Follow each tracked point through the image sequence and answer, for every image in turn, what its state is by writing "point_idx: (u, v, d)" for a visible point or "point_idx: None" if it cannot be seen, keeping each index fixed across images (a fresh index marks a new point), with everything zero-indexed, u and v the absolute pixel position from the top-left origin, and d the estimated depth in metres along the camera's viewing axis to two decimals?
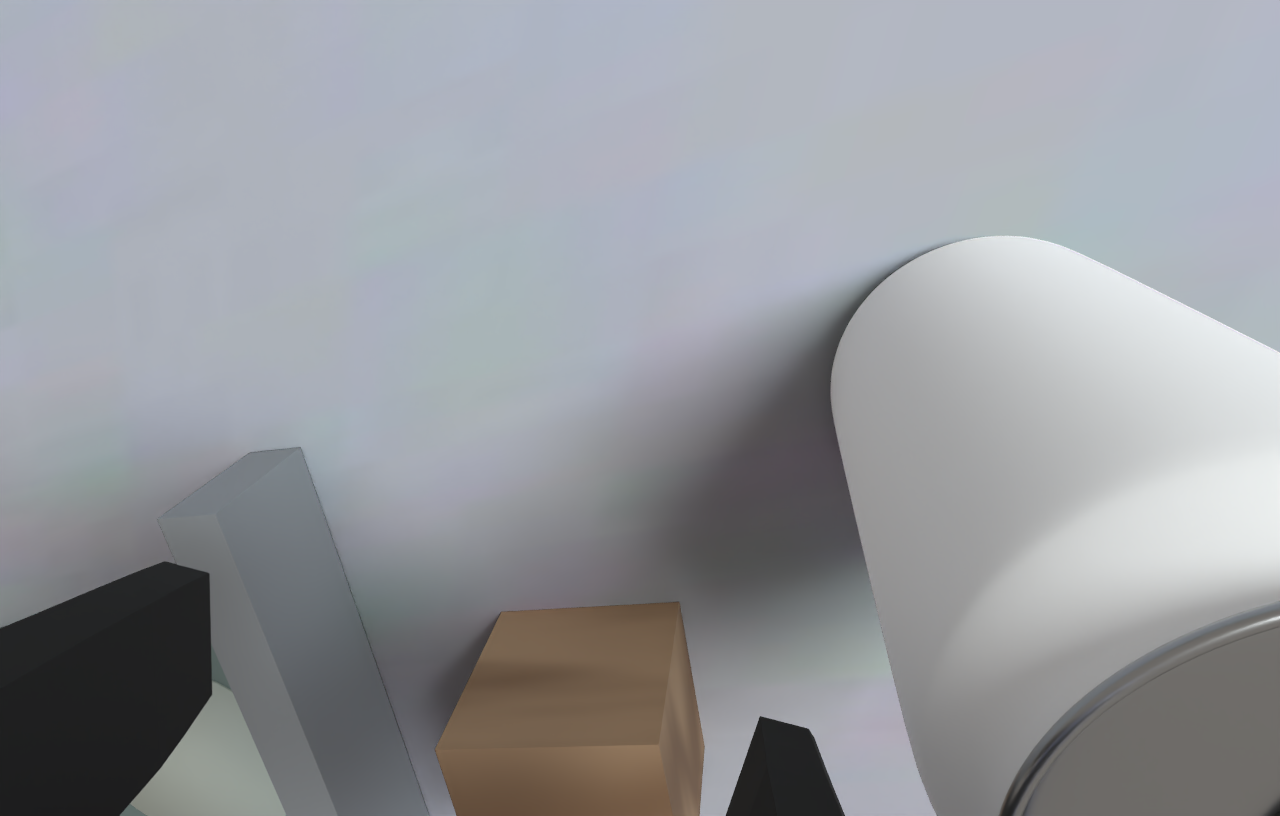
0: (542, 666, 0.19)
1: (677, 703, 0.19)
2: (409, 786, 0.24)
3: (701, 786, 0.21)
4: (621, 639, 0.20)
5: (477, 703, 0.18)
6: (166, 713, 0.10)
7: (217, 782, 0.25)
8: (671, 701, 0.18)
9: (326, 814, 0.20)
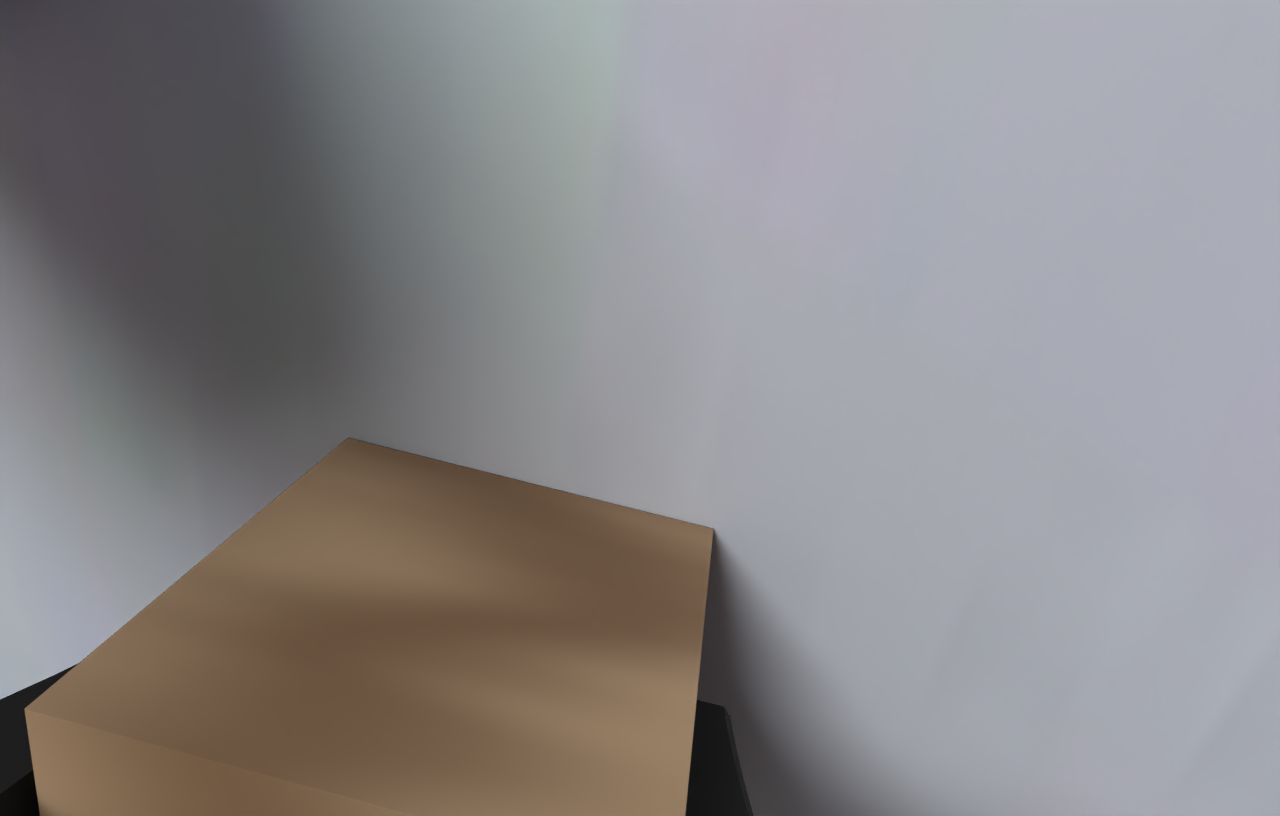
0: None
1: (333, 565, 0.08)
2: None
3: (702, 596, 0.09)
4: None
5: None
6: None
7: None
8: (249, 583, 0.07)
9: None
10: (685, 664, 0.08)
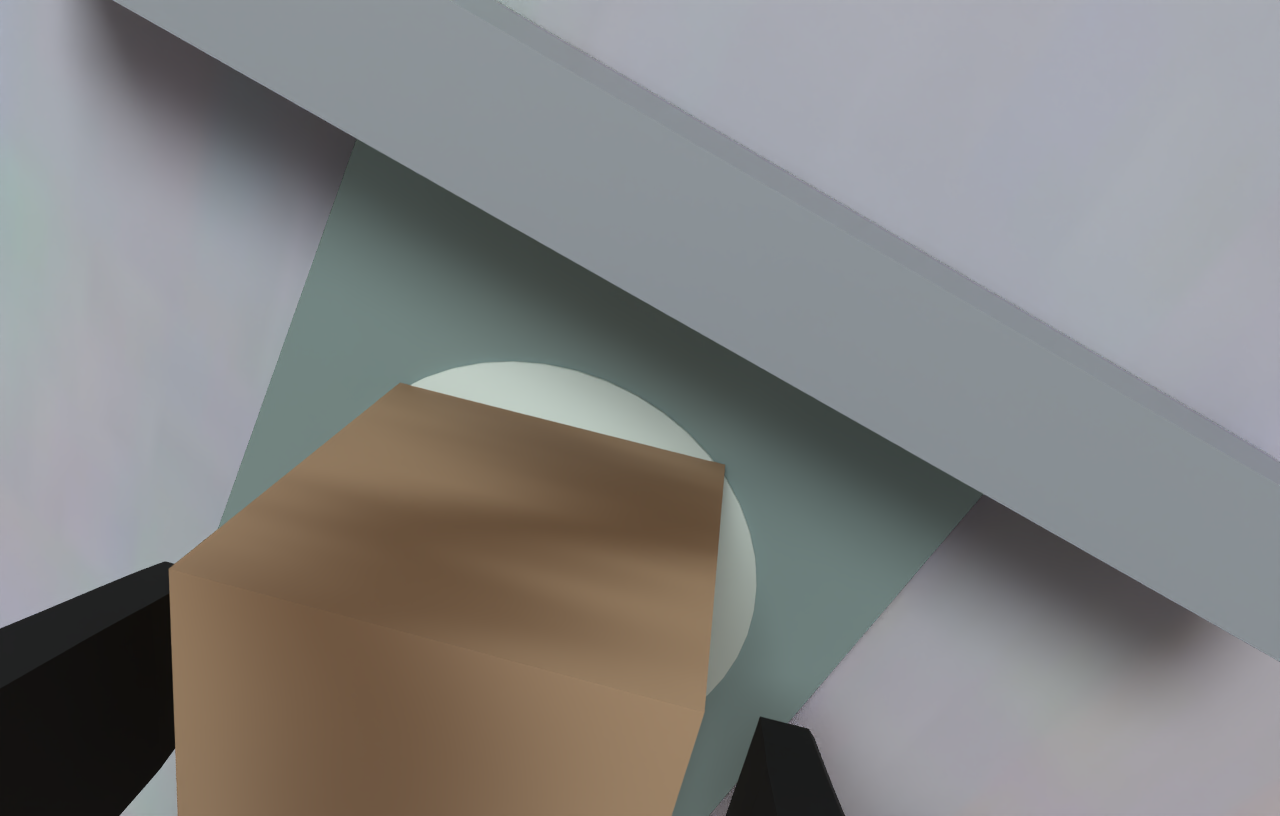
0: None
1: (401, 478, 0.09)
2: (863, 218, 0.10)
3: (717, 514, 0.10)
4: None
5: None
6: (166, 713, 0.10)
7: None
8: (333, 488, 0.09)
9: (661, 167, 0.07)
10: (704, 563, 0.09)
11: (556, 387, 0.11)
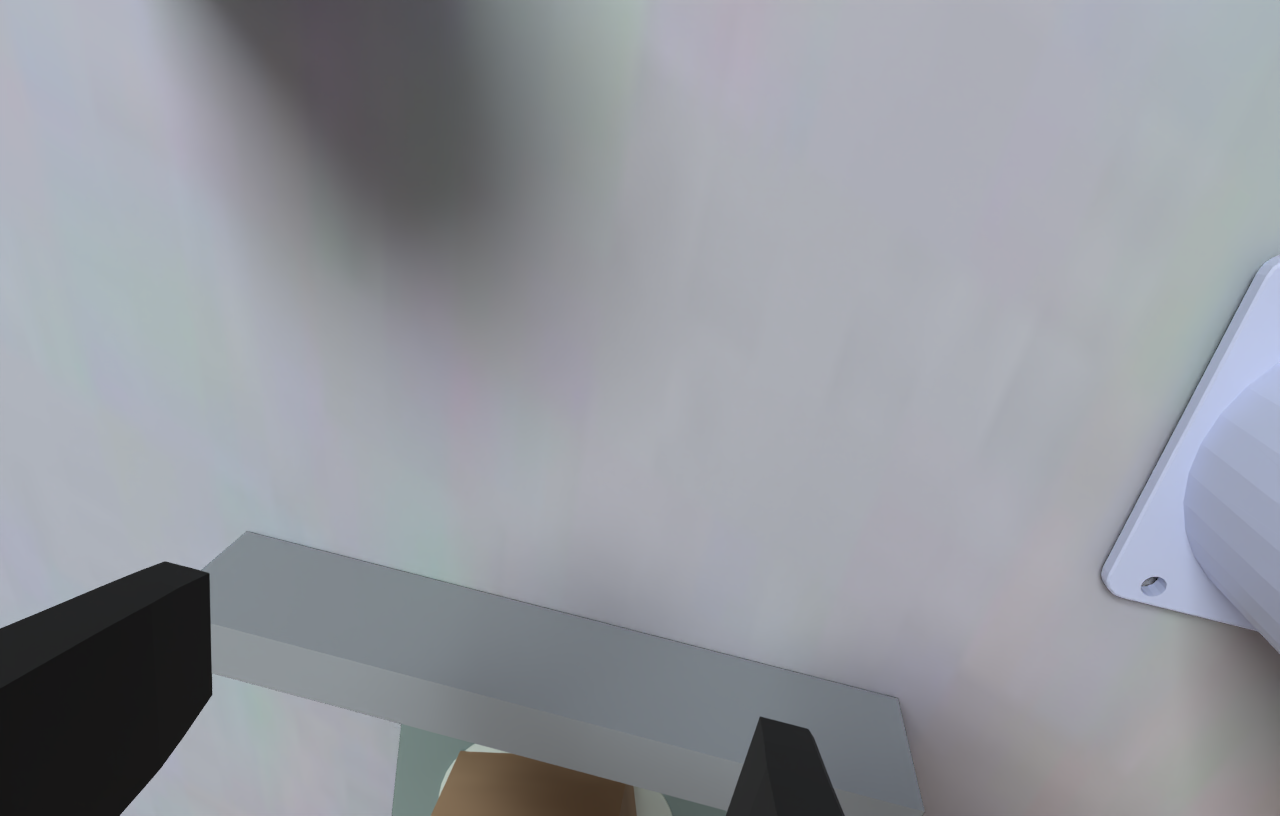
0: None
1: None
2: (649, 645, 0.20)
3: (619, 803, 0.20)
4: None
5: None
6: (166, 713, 0.10)
7: None
8: None
9: (527, 717, 0.18)
10: None
11: None
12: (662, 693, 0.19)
